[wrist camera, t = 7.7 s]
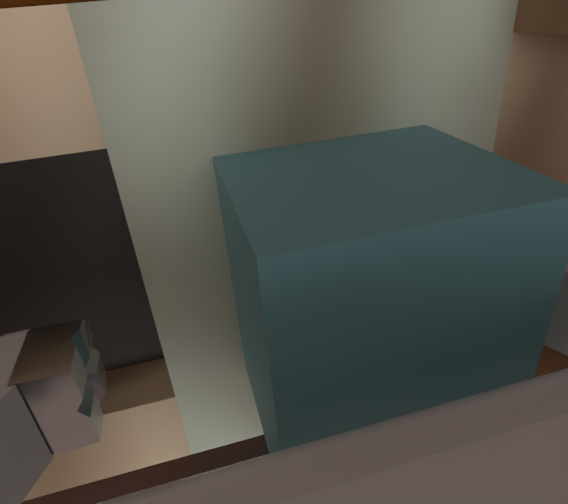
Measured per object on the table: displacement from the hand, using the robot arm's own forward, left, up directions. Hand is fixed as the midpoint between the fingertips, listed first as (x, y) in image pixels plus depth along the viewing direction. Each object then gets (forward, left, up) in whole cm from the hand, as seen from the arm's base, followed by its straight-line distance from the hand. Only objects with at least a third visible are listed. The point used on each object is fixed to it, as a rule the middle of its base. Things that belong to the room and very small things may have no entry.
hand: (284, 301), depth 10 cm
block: (-2, 0, -1) cm, 2 cm away
